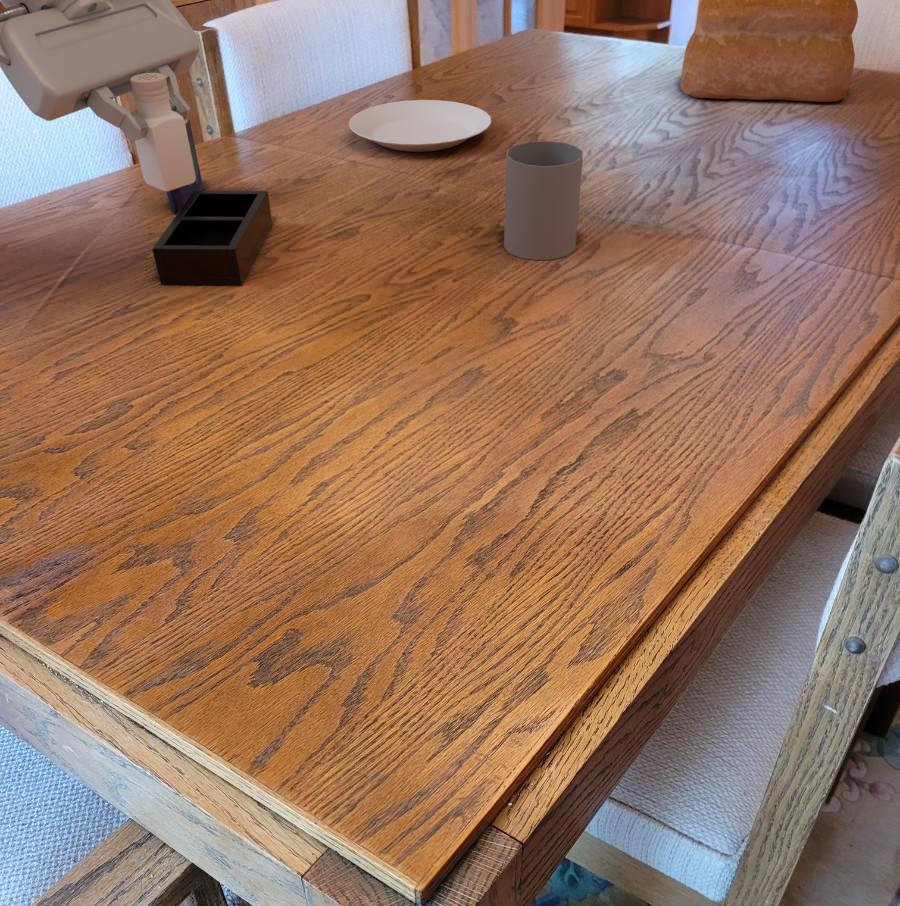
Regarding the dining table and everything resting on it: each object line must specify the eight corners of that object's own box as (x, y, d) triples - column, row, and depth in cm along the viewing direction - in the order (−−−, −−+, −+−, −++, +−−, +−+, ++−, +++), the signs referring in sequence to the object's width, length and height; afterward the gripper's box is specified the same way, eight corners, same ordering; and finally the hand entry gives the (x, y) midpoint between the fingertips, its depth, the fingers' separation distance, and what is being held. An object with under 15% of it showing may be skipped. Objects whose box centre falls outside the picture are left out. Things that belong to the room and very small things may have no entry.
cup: (494, 254, 103) (496, 161, 96) (515, 227, 108) (518, 138, 101) (566, 264, 101) (573, 170, 94) (583, 236, 106) (591, 145, 99)
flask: (188, 188, 120) (170, 98, 112) (209, 188, 119) (193, 99, 112) (166, 214, 113) (146, 122, 105) (189, 215, 113) (170, 122, 105)
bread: (678, 79, 154) (693, -28, 143) (837, 83, 150) (865, -26, 140) (679, 101, 144) (696, -11, 134) (849, 107, 141) (880, -9, 130)
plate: (519, 141, 131) (520, 124, 130) (397, 171, 123) (396, 154, 121) (440, 107, 144) (440, 92, 142) (324, 132, 136) (323, 116, 134)
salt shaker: (166, 194, 88) (141, 85, 81) (142, 185, 90) (116, 78, 83) (199, 183, 90) (178, 76, 83) (175, 174, 92) (153, 68, 85)
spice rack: (160, 285, 98) (151, 248, 96) (200, 224, 111) (193, 190, 108) (241, 285, 98) (235, 249, 95) (272, 224, 110) (267, 190, 107)
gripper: (-28, -10, 74) (93, 136, 77) (146, -50, 87) (244, 77, 90) (-44, 46, 78) (71, 181, 82) (124, 1, 91) (217, 119, 94)
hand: (163, 126), depth 86 cm, fingers closed on salt shaker, 4 cm apart
